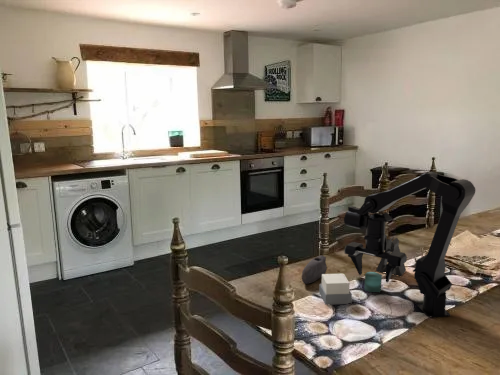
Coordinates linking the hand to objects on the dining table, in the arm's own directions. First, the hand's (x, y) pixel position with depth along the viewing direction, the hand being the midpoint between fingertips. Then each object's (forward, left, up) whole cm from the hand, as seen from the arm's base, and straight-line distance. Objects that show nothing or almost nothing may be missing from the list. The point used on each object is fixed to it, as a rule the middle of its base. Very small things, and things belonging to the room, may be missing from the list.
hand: (373, 278), depth 130 cm
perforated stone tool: (+10, +18, -4) cm, 21 cm away
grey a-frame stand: (+14, -12, -4) cm, 19 cm away
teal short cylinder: (0, 0, -4) cm, 4 cm away
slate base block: (-5, +14, -4) cm, 15 cm away
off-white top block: (-5, +14, -1) cm, 15 cm away
